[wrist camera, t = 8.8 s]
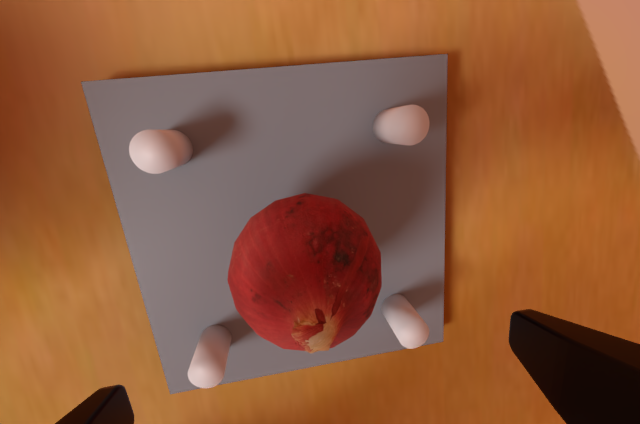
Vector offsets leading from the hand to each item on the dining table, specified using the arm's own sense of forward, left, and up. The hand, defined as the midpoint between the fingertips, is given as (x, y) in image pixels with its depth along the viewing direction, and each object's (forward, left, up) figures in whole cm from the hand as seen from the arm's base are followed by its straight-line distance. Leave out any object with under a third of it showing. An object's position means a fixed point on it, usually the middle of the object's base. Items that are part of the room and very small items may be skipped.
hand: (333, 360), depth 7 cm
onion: (0, 0, -9) cm, 9 cm away
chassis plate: (0, 0, -10) cm, 10 cm away
